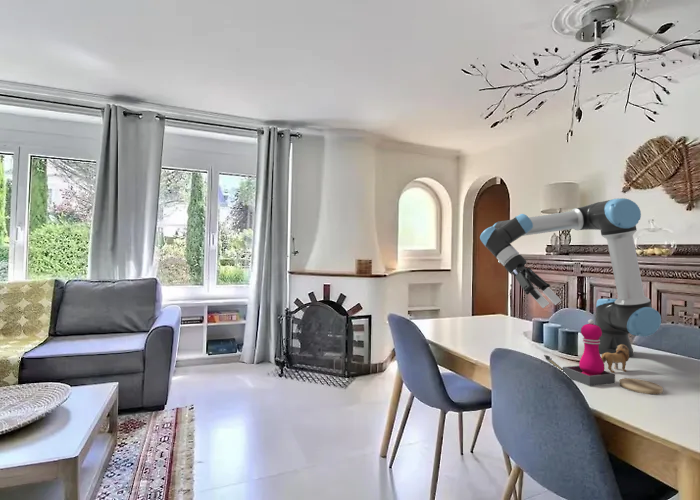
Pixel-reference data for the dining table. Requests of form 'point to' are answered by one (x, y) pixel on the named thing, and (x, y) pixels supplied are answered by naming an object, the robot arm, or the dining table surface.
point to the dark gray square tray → (593, 380)
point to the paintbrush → (552, 361)
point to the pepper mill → (591, 350)
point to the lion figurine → (617, 357)
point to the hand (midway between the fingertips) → (552, 304)
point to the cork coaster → (641, 386)
